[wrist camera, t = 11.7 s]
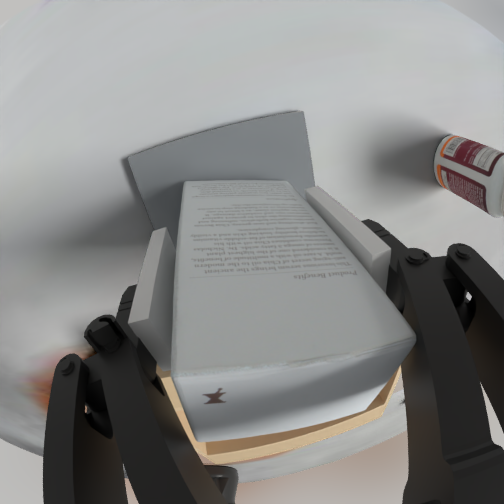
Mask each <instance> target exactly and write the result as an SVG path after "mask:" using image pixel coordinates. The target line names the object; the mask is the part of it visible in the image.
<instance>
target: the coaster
mask: <svg viewBox="0 0 504 504" xmlns="http://www.w3.org/2000/svg"><path fill="white" fill-rule="evenodd" d="M128 161H129V164H130V167H131V170H132V173H133V176H134V179H135V181H136V184H137V187H138V189H139V192H140V195H141V197H142V200H143V203H144V205H145V208H146V210H147V213H148V216H149V218H150V221H151V223H152V226H153V228H154V230H158V229H161V228H164V227H167V230H168V232H169V235H170V237H171V240H172V242H173V245H174V247H175V250H176V248H177V237H178V227H179V218H180V211H181V202H182V193H183V186H184V182H185V181H212V180H275V181H287V182H289V183H290V184H291V185H292V186H293V188H294V189H295V190H296V191H297V192H298V193H299V194H300V195H301V196H302V197H303V198H304V199H305V200H306V196H305V189H307V188H311V187H315V181H314V174H313V167H312V160H311V153H310V147H309V141H308V135H307V129H306V123H305V117H304V112H303V111H295V112H289V113H283V114H278V115H272V116H267V117H262V118H258V119H253V120H248V121H244V122H239V123H235V124H231V125H227V126H223V127H219V128H215V129H212V130H208V131H204V132H201V133H197V134H194V135H191V136H187V137H184V138H181V139H177V140H174V141H171V142H168V143H165V144H162V145H159V146H156V147H153V148H151V149H148V150H145V151H142V152H140V153H137V154H134V155H132V156H130V157H128Z"/></svg>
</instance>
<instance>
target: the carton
mask: <svg viewBox="0 0 504 504" xmlns="http://www.w3.org/2000/svg"><path fill="white" fill-rule="evenodd" d="M156 373H157V374H158V376H159V377H160V378H161V380H162V382H163V385H164V387H165V389H166V392H167V394H168V396H169V398H170V401H171V403H172V405H173V407H174V409H175V411H176V413H177V416H178V418H179V420H180V422H181V424H182V426H183V428H184V430H185V432H186V434H187V436H188V438H189V439H190V441H191V443H192V445H193V447H194V449H195V451H196V452H198V453H199V454H201V455H202V456H204V457H205V458H207V459H208V460H210V461H211V462H213V463H214V464H223V463H230V462H236V461H242V460H248V459H253V458H258V457H262V456H267V455H271V454H276V453H280V452H284V451H287V450H291V449H295V448H298V447H302V446H305V445H308V444H312V443H315V442H318V441H321V440H324V439H327V438H330V437H333V436H335V435H338V434H341V433H344V432H346V431H349V430H351V429H354V428H356V427H359V426H361V425H364V424H366V423H368V422H370V421H373V420H375V419H377V418H379V417H381V416H382V414H383V412H384V410H385V408H386V406H387V404H388V402H389V400H390V397H391V395H392V393H393V391H394V388H395V386H396V384H397V381H398V379H399V376H400V374H401V365H400V366H399V368H398V369H397V370H396V372H395V373H394V374H393V376H392V377H391V378H390V380H389V381H388V382H387V384H386V385H385V386H384V387H383V389H382V390H381V391H380V393H379V394H378V395H377V396H376V398H375V399H374V400H373V401H372V403H371V404H370V405H369V406H368V407H367V409H366V410H364V411H361V412H358V413H355V414H352V415H349V416H345V417H342V418H339V419H335V420H332V421H328V422H324V423H320V424H316V425H313V426H308V427H304V428H299V429H294V430H290V431H284V432H278V433H272V434H266V435H259V436H252V437H246V438H239V439H230V440H221V441H211V442H197V441H196V439H195V437H194V435H193V433H192V430H191V428H190V425H189V423H188V420H187V418H186V415H185V413H184V410H183V408H182V405H181V402H180V400H179V397H178V394H177V392H176V389H175V387H174V384H173V381H172V379H171V376H170V375H171V370H169V371H162V369H161V368H160V367H159V365H158V364H157V367H156Z"/></svg>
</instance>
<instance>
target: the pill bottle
mask: <svg viewBox="0 0 504 504" xmlns="http://www.w3.org/2000/svg"><path fill="white" fill-rule="evenodd" d="M434 173H435V176H436V179H437V181H438V183H439V184H440V185H441V186H442V187H444V188H445V189H447V190H449V191H451V192H453V193H454V194H456V195H458V196H460V197H462V198H463V199H465V200H467V201H469V202H470V203H472V204H474V205H475V206H477V207H479V208H480V209H482V210H484V211H485V212H487V213H488V214H490V215H491V216H493V217H496V218H501V217H504V153H503V152H501V151H498V150H496V149H493V148H491V147H488V146H485V145H483V144H480V143H477V142H475V141H471V140H468V139H466V138H462V137H459V136H456V135H450V136H447V137H445V138H444V139H443V140H442V141H441V143H440V144H439V146H438V148H437V151H436V154H435V158H434Z"/></svg>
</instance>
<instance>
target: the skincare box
mask: <svg viewBox="0 0 504 504" xmlns="http://www.w3.org/2000/svg"><path fill="white" fill-rule="evenodd" d="M415 343H416V334H415V332H414V330H413V329H412V328H411V326H410V325H409V324H408V322H407V321H406V320H405V318H404V317H403V316H402V314H401V313H400V312H399V311H398V309H397V308H396V306H395V305H394V304H393V303H392V301H391V300H390V299H389V298H388V296H387V295H386V293H385V292H384V291H383V290H382V289H381V287H380V286H379V285H378V284H377V283H376V281H375V280H374V279H373V278H372V276H371V275H370V274H369V273H368V271H367V270H366V269H365V268H364V266H363V265H362V264H361V263H360V262H359V260H358V259H357V258H356V257H355V256H354V254H353V253H352V252H351V251H350V250H349V249H348V247H347V246H346V245H345V244H344V243H343V241H342V240H341V239H340V238H339V237H338V236H337V235H336V233H335V232H334V231H333V230H332V229H331V228H330V227H329V226H328V224H327V223H326V222H325V221H324V220H323V219H322V218H321V217H320V215H319V214H318V213H317V212H316V211H315V210H314V209H313V208H312V207H311V206H310V205H309V204H308V202H307V201H306V200H305V199H304V198H303V197H302V196H301V195H300V194H299V193H298V192H297V191H296V190H295V189H294V188H293V186H292V185H291V184H290V183H289V182H287V181H275V180H212V181H185V182H184V186H183V193H182V202H181V211H180V218H179V227H178V237H177V248H176V262H175V276H174V294H173V329H172V350H171V375H170V376H171V379H172V381H173V384H174V387H175V389H176V392H177V394H178V397H179V400H180V402H181V405H182V408H183V410H184V413H185V415H186V418H187V420H188V423H189V425H190V428H191V430H192V433H193V435H194V437H195V439H196V441H197V442H211V441H221V440H230V439H239V438H246V437H252V436H259V435H266V434H272V433H278V432H284V431H290V430H294V429H299V428H304V427H308V426H313V425H316V424H320V423H324V422H328V421H332V420H335V419H339V418H342V417H345V416H349V415H352V414H355V413H358V412H361V411H364V410H366V409H367V407H368V406H369V405H370V404H371V403H372V401H373V400H374V399H375V398H376V396H377V395H378V394H379V393H380V391H381V390H382V389H383V387H384V386H385V385H386V384H387V382H388V381H389V380H390V378H391V377H392V376H393V374H394V373H395V372H396V370H397V369H398V368H399V366H400V365H401V363H402V362H403V361H404V359H405V358H406V356H407V355H408V354H409V352H410V351H411V349H412V348H413V346H414V345H415Z"/></svg>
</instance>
